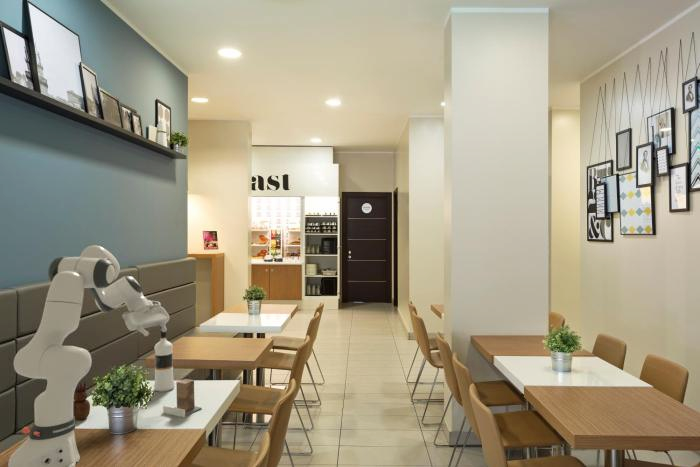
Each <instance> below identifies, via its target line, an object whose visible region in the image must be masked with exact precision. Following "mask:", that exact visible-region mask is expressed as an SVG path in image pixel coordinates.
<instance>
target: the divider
mask: <svg viewBox="0 0 700 467" xmlns="http://www.w3.org/2000/svg"><path fill="white" fill-rule="evenodd" d="M162 413H163V414H167V415H171V416H175V417H179V418H183V419H184V418H185V417H186V416H185V410H184V409H180V408H177V406H176V407H175V406H170V405H166V404H164V405H162Z"/></svg>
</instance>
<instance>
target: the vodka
mask: <svg viewBox="0 0 700 467" xmlns="http://www.w3.org/2000/svg"><path fill="white" fill-rule="evenodd" d="M161 329H162V326H160V331H159V332H160V338H159V341H158V342H157V343H155V345H154V347H153V348H154V384H153V389H154V391H155V392H159V393H161V392H162V393H163V392H169V391H171V390H173V389H174V388H175V387H176V386H175V378H174V367H173V365H174V362H173V360H174V359H173V350H174V346H173V343H172V342H170V341H169V340H167V331H166V332H162V330H161Z"/></svg>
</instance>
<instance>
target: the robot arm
mask: <svg viewBox="0 0 700 467" xmlns="http://www.w3.org/2000/svg"><path fill="white" fill-rule="evenodd" d="M47 271H48V272H47V273H48V278H49V280H50V282H51V283H50V285H49V288H48V292H47V294H46V298H45V303H44V307H43V313H42V315H41V320H40V323H39V327H38V329H37V330H36V332H35V334H34V336H33V337H32V338H31V339H30V341H29V342H28V343H27V344H25V346H23V347H22V348H20V349H19V350H18V351H17V353H16V355H15V356H14V358H13V368H14V371H15V372H16V374H18V375H19V376H23V377H25V378H30V379H34V380H35V379H37V380H46V381H47V384H46V389H45V390H44V391H43V392H41V393H40V394H39V395H38V396H36V397H35V399H34V405H33V407H34V423H33V425H32V427H31V428H30V427H28V426H24V427H23V428H22V430H21V432H22V433H23V434H25V435H28V438H26V440H25V441H24V442H23V443H22V444H21V445H20V446H19V447H18V448H17V449H16V450H15V451H14V452H12V454H10V456H9V459H8V463H7V467H76V464H77V463H78V462H79V461H80V458H81V455H80V453H79V450H78V447H77V443H76V442H77V441H76V436H75V430H76V420H75V417H74V416H73V402H74V394H75V390H76V388H77V387H78V384H79V382H80V381H81V380H82V379H83V378H84V377H86V375H87V374H88V373H89V372H90V369H91V367H92V355H91V354H90V352H89V350H87V349H85V348H82V347H79V346H75V345H63V343H64V341H65V339H66V338H67V337H68V336H69V335H70V334H71V333H73V332H75V331H76V330H77V329H78V327H79V325H80V319H81V313H82V309H83V304H84V303H83V301H84V295H85V292H84V291H85V289H89V291H90V294H91V295H92V297H93V298H94V302H95V304H96V306H97V308H98V309H99V310H100V311H101V312H104V313H111V312H113V311H114V310H116V309H117V308H118V307H120V306H122V305H123V304H125V305H126V308H127V310H128V311H124V312H123V313H122V315H121V317H122V320H124V323H125V327H126V328H127V329H128V330H129V331H130V332H133V331H138V332H139V333H141V334H143V336H144V337H148V336H149V335H150V331H149V330H146V329H149V328H151V327H157V326H160V327H162V329H161V330H162V332H166V333H167V331H168V328H167V327H166V324H168V322H169V321H170V315H169V313H168V312H167V310H166V309H165V308H164V307H163V306H161V305H162V304H161V302H160V301H157V300H156V301H155V300H149V299H148V298H147V297H146V296H145V295H144V294H143V287H142V286H141V284H140V283H139V281H138V280H137V278H135V276H130V275H124V276H122V277H121V278H119V279H118V280H116V279H117V278H118V276H119V274H120V271H121V266H120V264H119V261H118V259H117V258H116V257H115V256H114V255H113V254H112V253H111V252H110V251H109V250H108V249H106V248H104V247H102V246H100V245H95V244H94V245H89V246H87V247H85V248H84V249H83V250H82V251H81V253H80V255H79V256H59V257H56V258H54V259H53V260H52V261H51V263H50V264H49V266H48V270H47ZM115 280H116V281H115ZM76 462H77V463H76Z"/></svg>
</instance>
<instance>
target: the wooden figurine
mask: <svg viewBox="0 0 700 467" xmlns="http://www.w3.org/2000/svg"><path fill="white" fill-rule="evenodd" d="M86 387H87V385H86V381H84V383H83V384H82V383H80V385H77V387H76V388H75V392H74V397H73V416H74V417H75V421H82V420H86V419H87V418H88V416H89V415H90V412H91V403H90V401H89V400H88V399H87V398H88V392H87V390H86V389H87V388H86Z"/></svg>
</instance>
